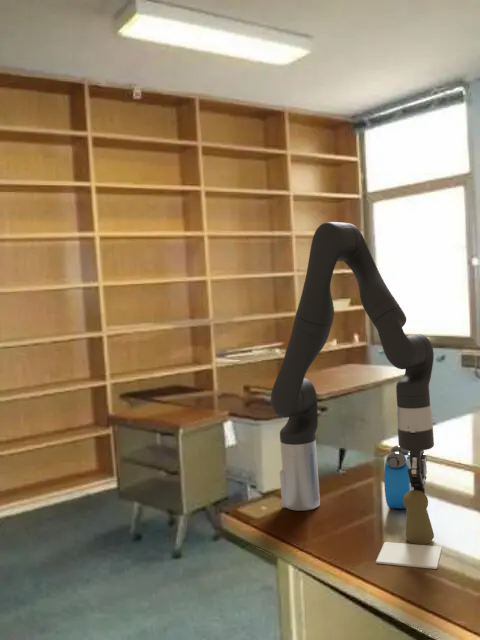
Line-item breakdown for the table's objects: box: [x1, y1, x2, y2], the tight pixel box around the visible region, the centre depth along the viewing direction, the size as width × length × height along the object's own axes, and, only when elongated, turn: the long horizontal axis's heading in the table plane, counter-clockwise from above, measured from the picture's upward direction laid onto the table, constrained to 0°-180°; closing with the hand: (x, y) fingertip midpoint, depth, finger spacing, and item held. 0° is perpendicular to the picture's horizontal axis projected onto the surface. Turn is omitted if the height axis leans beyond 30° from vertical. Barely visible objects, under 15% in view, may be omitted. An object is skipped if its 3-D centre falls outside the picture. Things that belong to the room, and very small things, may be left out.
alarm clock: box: [383, 444, 414, 510], centre depth 163 cm, size 13×6×15 cm, turn 159°
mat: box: [375, 541, 443, 570], centre depth 136 cm, size 12×10×1 cm
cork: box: [403, 490, 435, 545], centre depth 141 cm, size 6×6×11 cm
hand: (420, 503), depth 144 cm, fingers closed
